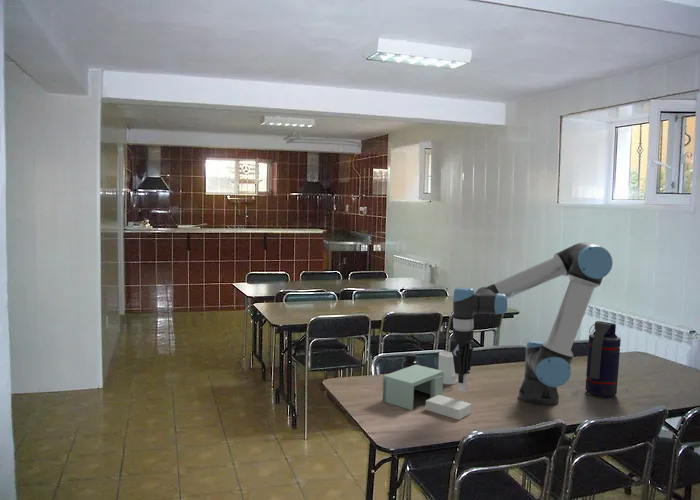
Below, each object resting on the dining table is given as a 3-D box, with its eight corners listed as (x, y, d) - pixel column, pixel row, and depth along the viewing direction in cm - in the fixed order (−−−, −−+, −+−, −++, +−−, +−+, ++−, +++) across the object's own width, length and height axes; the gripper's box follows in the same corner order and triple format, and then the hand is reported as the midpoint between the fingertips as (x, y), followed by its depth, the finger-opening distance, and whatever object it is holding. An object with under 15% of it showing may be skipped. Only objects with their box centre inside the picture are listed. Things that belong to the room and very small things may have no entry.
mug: (464, 386, 245) (466, 358, 244) (446, 387, 242) (447, 359, 241) (451, 377, 256) (452, 351, 255) (433, 379, 253) (434, 352, 252)
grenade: (592, 387, 249) (597, 318, 246) (621, 394, 240) (626, 323, 238) (578, 394, 239) (583, 322, 237) (607, 402, 231) (613, 327, 228)
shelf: (443, 396, 231) (444, 371, 230) (411, 410, 214) (413, 383, 213) (414, 388, 240) (415, 364, 239) (382, 401, 223) (383, 375, 222)
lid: (471, 413, 213) (471, 403, 213) (458, 419, 207) (459, 410, 206) (438, 403, 222) (438, 394, 222) (425, 409, 216) (425, 400, 215)
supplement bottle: (419, 381, 249) (421, 353, 248) (414, 385, 243) (416, 357, 242) (404, 378, 252) (405, 351, 251) (399, 383, 246) (400, 355, 245)
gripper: (462, 324, 226) (462, 384, 228) (445, 330, 216) (444, 393, 218) (480, 327, 221) (479, 388, 223) (463, 333, 211) (462, 397, 213)
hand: (462, 390), depth 220 cm, fingers closed
